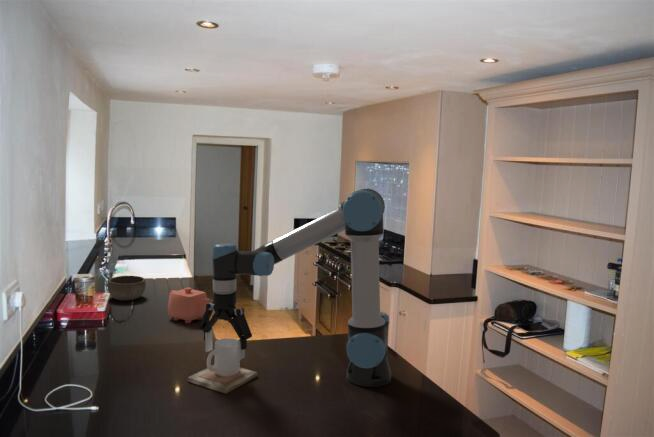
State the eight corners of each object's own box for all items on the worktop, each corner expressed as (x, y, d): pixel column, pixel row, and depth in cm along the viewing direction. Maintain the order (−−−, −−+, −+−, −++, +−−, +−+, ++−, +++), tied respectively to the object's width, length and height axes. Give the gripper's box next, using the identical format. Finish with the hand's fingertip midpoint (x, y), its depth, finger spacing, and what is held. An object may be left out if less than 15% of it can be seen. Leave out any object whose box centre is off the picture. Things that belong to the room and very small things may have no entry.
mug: (213, 382, 167) (213, 351, 166) (199, 374, 173) (200, 344, 172) (244, 373, 176) (245, 343, 175) (230, 365, 182) (231, 336, 180)
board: (257, 376, 178) (257, 371, 177) (226, 393, 164) (226, 388, 163) (220, 365, 185) (220, 361, 185) (187, 381, 171) (187, 376, 171)
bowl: (138, 304, 256) (138, 283, 255) (101, 302, 256) (101, 282, 255) (150, 295, 273) (150, 276, 272) (116, 293, 274) (116, 274, 272)
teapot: (217, 320, 236) (217, 289, 235) (197, 327, 225) (197, 295, 223) (180, 311, 247) (181, 282, 245) (160, 318, 236) (160, 287, 234)
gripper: (262, 294, 168) (262, 358, 171) (203, 284, 180) (203, 344, 183) (248, 299, 162) (248, 366, 164) (187, 288, 174) (188, 350, 176)
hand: (224, 354), depth 173 cm, fingers open, 13 cm apart
